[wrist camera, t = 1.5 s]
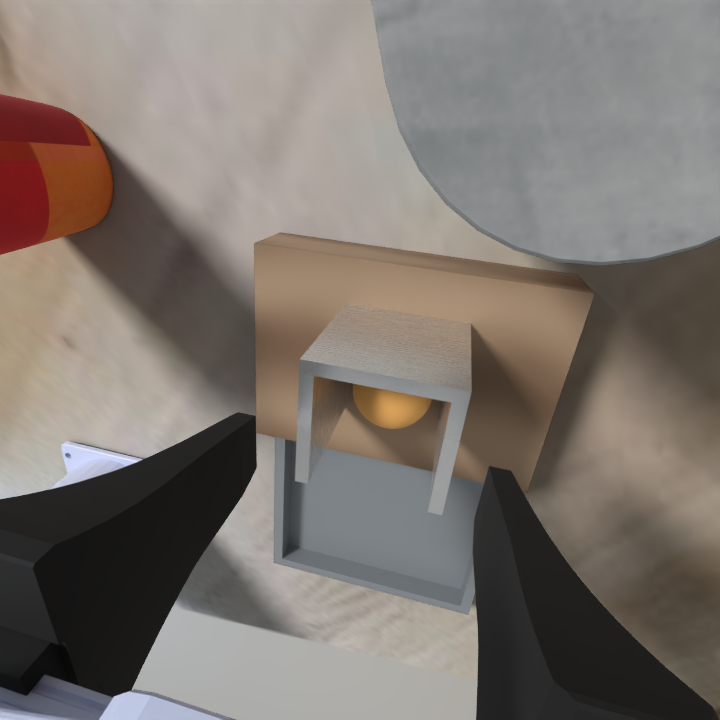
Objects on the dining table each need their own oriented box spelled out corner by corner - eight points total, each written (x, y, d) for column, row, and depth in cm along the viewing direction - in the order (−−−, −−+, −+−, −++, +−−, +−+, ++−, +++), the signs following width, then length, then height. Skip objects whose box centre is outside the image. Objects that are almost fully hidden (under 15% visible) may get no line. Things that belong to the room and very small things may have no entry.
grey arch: (448, 422, 21) (442, 515, 15) (338, 400, 21) (294, 480, 16) (470, 323, 18) (471, 391, 13) (346, 303, 19) (299, 359, 14)
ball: (429, 409, 21) (422, 453, 18) (358, 395, 21) (340, 435, 18) (442, 343, 19) (437, 378, 16) (366, 330, 20) (347, 361, 17)
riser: (520, 454, 24) (526, 492, 21) (277, 404, 26) (256, 432, 23) (577, 274, 20) (594, 293, 17) (280, 232, 22) (254, 243, 19)
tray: (468, 592, 29) (468, 614, 28) (282, 544, 31) (273, 562, 30) (509, 457, 24) (512, 476, 23) (285, 410, 26) (275, 425, 25)
